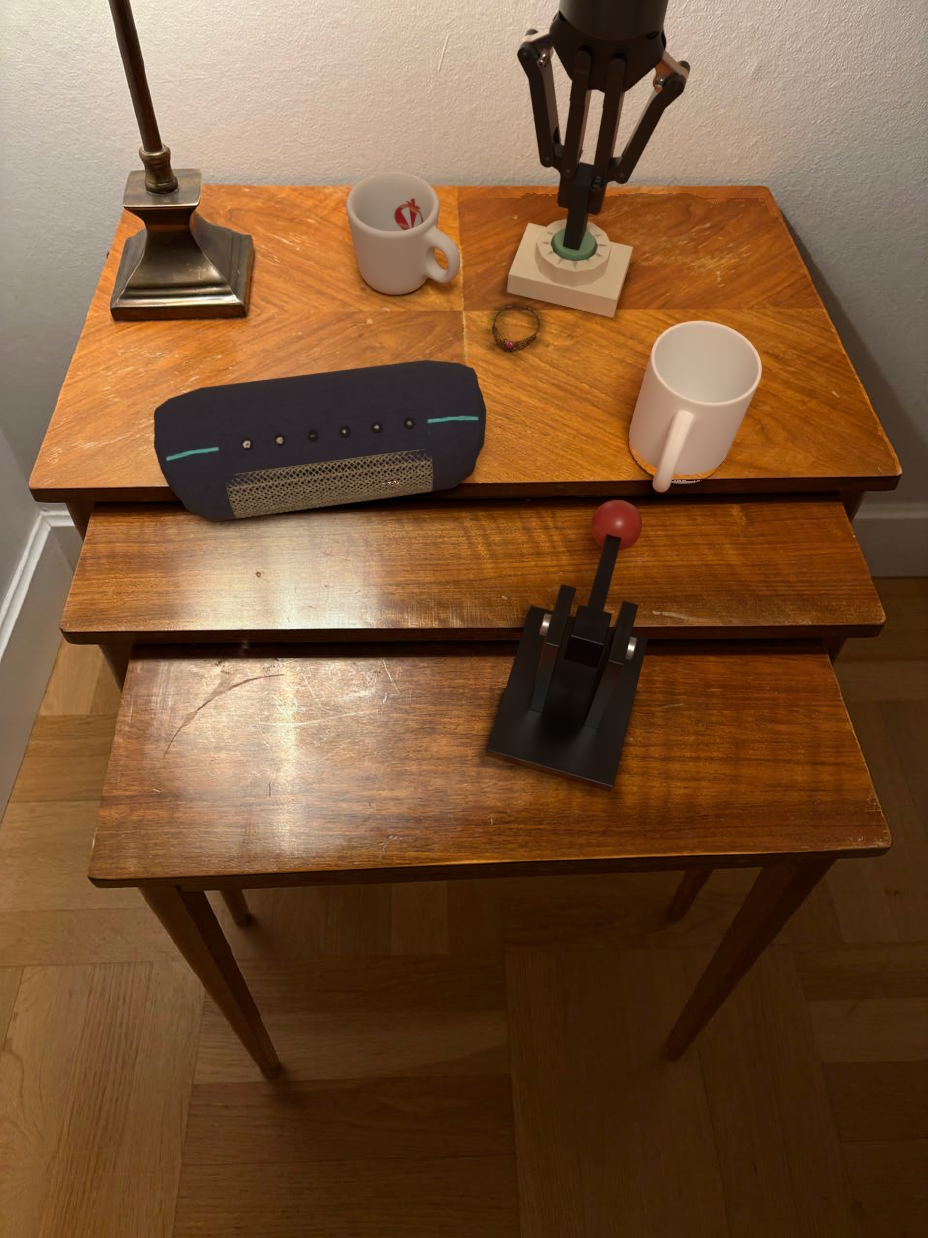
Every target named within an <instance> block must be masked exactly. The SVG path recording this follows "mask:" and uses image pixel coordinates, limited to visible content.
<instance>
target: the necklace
mask: <svg viewBox="0 0 928 1238" xmlns="http://www.w3.org/2000/svg"><path fill="white" fill-rule="evenodd" d="M510 308H519V305H517V304H516V305H510V306H505V307H504V308H502V309H501V310H500V311H498V312H497V314H496V315H495V318H493V323H492V324H493V325H492V327H491V331H492V335H493V339H494V341H495V343H496V344H497V347H499V348H500V349H501V350H502V351H504V352H506V353H511V354H512V352H515V353H517V352H520V351H523V350H524V349H525V348H526V347H528V345H529V344H531V342H534V341H535V340H536V338H537V337H538V336H537V332H534V333H533V334H532V335H530V336H528V337H526V338H524V339H523V338H521V339H520V340H519V341H518V340H517V341H514V342H513V341H511V339H510V340H508V339H506V338H504V336H502V335H501V333H499V330H498V328H497V326H496V321H497V317H498V316H499V315H500V314H501V313H502V312H503V311H505V310H507V309H510ZM520 308H522V309H526V310H528V311H530V312H531V313H532V314H534V315H535V316H536V318H537V320H538V322H537V324H538V326H537V329H541V328H540V327H541V325H540V324H541V321H540V316H539V315H538V314H537V313H536V311H534V310H533V309H532V308H530V307H527V306H526V307H525V305H520Z"/></svg>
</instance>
